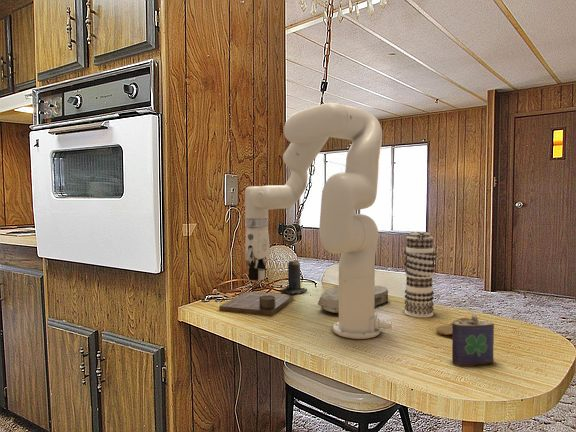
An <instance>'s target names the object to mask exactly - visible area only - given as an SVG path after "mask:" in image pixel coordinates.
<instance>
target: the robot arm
mask: <svg viewBox="0 0 576 432" xmlns="http://www.w3.org/2000/svg"><path fill="white" fill-rule="evenodd" d="M283 133H284V138H285V139H286V140H287V141H288V142H289V143H290V144H289V145H288V146H287V148H286V150H285V152H284V153H283V155H282V160H283V162H284V164H285V166H286V167H287V168H288V169H290V170H291V174H290V176H289V178H288V179H287V181H286V182H285V184H284V185H279V184H278V185H276V184H273V185H261V186H260V185H257V186H256V185H255V186H254V185H253V186H252V185H251V186H247V187H246V188H245V189H244V220H245V221H244V225H245V226H244V227H245V241H244V243H245V245H244V248H245V249H244V251H245V262H246V263H247V268H248V280H250V281H259V280H258V268H260V269H264V270H265V271H266V265H267V258H268V257H269V256H270V254H271V252H270V251H271V250H270V249H271V247H270V246H271V245H270V234H269V210H281V209H282V210H283V209H289V208H291V207H293V206H294V205H295V204H296V203H297V202H298V201H299V199H300V198H301V197H302V195H303V194H304V192H305V191H306V189H307V184H308V170H309V168H310V167H311V165H312V164H313V162H314V161H315V159H316V158H317V156H318V155H319V154H320V152H321V151H322V149H323V148H324V146H325V144H326V143H327V142H328V140H329V138H332V139H333V138H335V139H340V140H349V141H351V142H352V143H351V145H350V146H349V148H348V151H347V153H346V159H345V160H346V161H345V169H344V172H337V173H334V174H332V175H330V177H328V179H327V180H326V182H325V183H324V185H323V188H322V191H321V200H320V212H319V213H320V215H319V230H318V231H319V232H318V233H319V234H318V235H319V241H320V243H321V245H322V247H323V248H324V250H325V251H327V252H328V253H330V254H334V255H340V256H339V261H338V287H339V313H338V321H337V322H335V323H334V324H333V325H332V331H333V332H334V333H335V335H337V336H340V337H342V338H346V339H355V340H367V339H371V338H372V339H373V338H375V337H377V336H379V335H380V334H381V329H384V330H392V322H391V321H389V320H388V319H381V318H379V317H378V313H376V312H375V306H374V304H375V286H376V285H375V284H376V283H375V281H376V279H375V277H376V275H375V274H376V253H377V249H378V248H377V247H378V241H379V228H378V225H377V223H376V222H375V220H374V219H373V218H372V217H370V216H368V215H366V214H362V213H355V211H358V210H365V209H368V208H370V207H371V206H373V204H375V201H376V199H377V194H378V185H379V183H378V181H379V171H380V159H381V158H380V157H381V149H382V144H383V143H382V142H383V129H382V125H381V123H380V121H379V120H378V118H377V117H376V116H374V114H372V113H370V112H369V111H367V110H364V109H361V108H359V107H355V106H351V105H346V104H342V103H336V102H325V103H322V104H318V105H315V106H312V107H308V108H305V109H302V110H298V111H296V112H294V113H293V114H291V115H290V116H289V117H287V119H286V121H285V124H284V127H283Z"/></svg>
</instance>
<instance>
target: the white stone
mask: <svg viewBox="0 0 576 432" xmlns="http://www.w3.org/2000/svg"><path fill="white" fill-rule="evenodd" d="M265 279H266V269H265V270H264V269H260V268H258V280H257V281H263V280H265Z"/></svg>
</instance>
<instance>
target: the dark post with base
mask: <svg viewBox="0 0 576 432" xmlns="http://www.w3.org/2000/svg"><path fill="white" fill-rule="evenodd" d="M287 275H288V277H287V279H288V287H285V288H282V289H281V288H280V289H279V291H280V293H287V295H293V296H294V295H295V294H297V295H300V293H301V294H302V293H304V292H305V293H306V292H308V288H306V287H301V263H300V261H299V260H296V259H295V260H289V262H288V263H287Z"/></svg>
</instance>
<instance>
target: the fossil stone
mask: <svg viewBox="0 0 576 432" xmlns="http://www.w3.org/2000/svg"><path fill="white" fill-rule="evenodd" d="M388 300H389V290H388V288H387V287H386V286H382V285H375V304H374V307H377V306H378V305H379V306H381V304H385V303H386V302H387V301H388ZM317 305H318V306H319V307H321V308H322V309H323V310H325V311H326V312H330V313H334V314H335V313H336V314H339V286H338V285H334V286H333V287H330V288H328V289H327V290H325V291H324V292H322V293H321V295H320V297H319V300H318V301H317Z"/></svg>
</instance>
